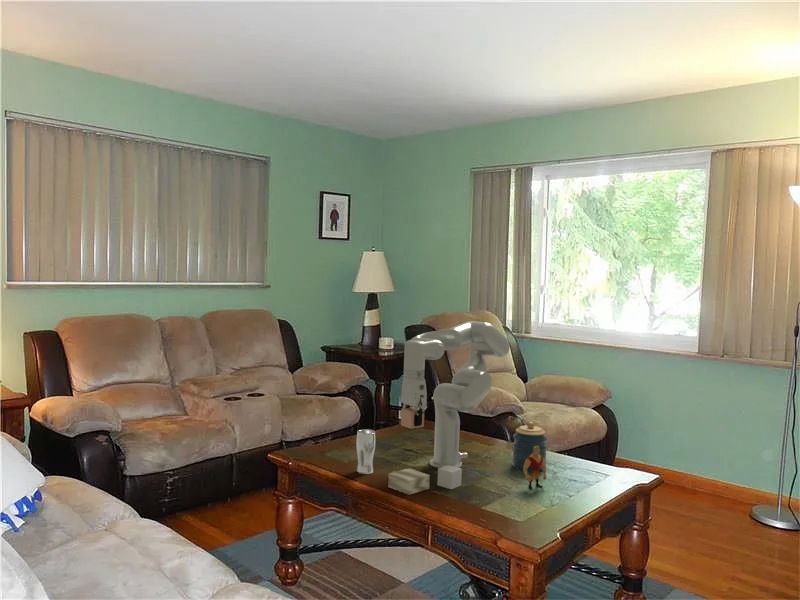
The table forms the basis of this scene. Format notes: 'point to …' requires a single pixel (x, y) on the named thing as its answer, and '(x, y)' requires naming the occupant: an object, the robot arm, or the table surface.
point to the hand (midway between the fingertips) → (412, 423)
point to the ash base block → (408, 481)
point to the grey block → (449, 477)
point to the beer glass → (365, 450)
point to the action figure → (534, 466)
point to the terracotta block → (409, 418)
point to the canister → (528, 444)
